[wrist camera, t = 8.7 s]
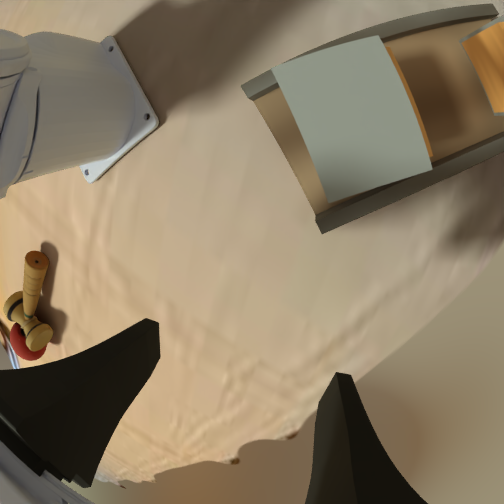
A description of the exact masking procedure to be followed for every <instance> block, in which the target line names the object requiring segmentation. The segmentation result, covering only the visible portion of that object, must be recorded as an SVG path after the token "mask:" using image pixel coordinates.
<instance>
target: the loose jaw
mask: <svg viewBox="0 0 504 504" xmlns="http://www.w3.org/2000/svg"><path fill="white" fill-rule="evenodd" d="M271 70H272V72H273V74H274V76H275V78H276V80H277V82H278V84H279V86H280V88H281V90H282V92H283V95H284V97H285V99H286V101H287V103H288V105H289V107H290V110H291V112H292V114H293V116H294V118H295V121H296V123H297V125H298V128H299V130H300V132H301V134H302V137H303V139H304V142H305V144H306V146H307V149H308V151H309V154H310V156H311V159H312V161H313V164H314V166H315V169H316V171H317V174H318V176H319V179H320V182H321V184H322V187H323V190H324V192H325V195H326V198H327V200H328V203H331V202H334V201H337V200H340V199H343V198H346V197H349V196H352V195H355V194H358V193H361V192H364V191H367V190H370V189H373V188H376V187H380V186H383V185H386V184H389V183H392V182H395V181H398V180H401V179H404V178H408V177H411V176H414V175H417V174H420V173H424V172H427V171H430V170H433V169H432V165H431V162H430V158H429V157H432V156H433V153H432V150H431V146H430V143H429V140H428V137H427V134H426V131H425V128H424V125H423V122H422V119H421V116H420V114H419V111H418V108H417V106H416V103H415V101H414V98H413V96H412V93H411V91H410V89H409V86H408V84H407V82H406V79H405V77H404V75H403V73H402V71H401V69H400V67H399V64H398V62H397V60H396V58H395V56H394V54H393V52H392V51H391V49H390V47H385V46H384V45H383V43H382V41H381V39H380V37H379V36H378V35H377V36H372V37H368V38H363V39H359V40H355V41H351V42H347V43H344V44H340V45H337V46H333V47H330V48H326V49H323V50H320V51H317V52H314V53H311V54H308V55H305V56H302V57H299V58H296V59H294V60H291V61H288V62H285V63H283V64H280V65H278V66H275V67H273V68H271Z"/></svg>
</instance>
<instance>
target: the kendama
mask: <svg viewBox="0 0 504 504" xmlns="http://www.w3.org/2000/svg"><path fill="white" fill-rule="evenodd" d="M48 265H49V259H48V258H47V257H46V255H45V254H43V253H42V252H39V251H30V252H28V253H27V254H26V257H25V267H24V268H25V269H24V283H23V291H19V292H16V293H14V294H13V295H11V296H10V297H9V298H8V299H7V301H6V302H5V304H4V308H3V310H4V313H5V315H6V317H7V319H8V320H10V321H14V322H16V323H15V324H14V325H13V327H12V329H11V332H10V342H11V345H12V347H13V349H14V351H15V352H16V354H17V355H18V356H20V357H21V358H23V359H25V360H29V361H33V360H37V359H39V358H40V357H41V356H42V355H43V354H44V352H45V350H46V347H47V344H48V343H49V341H50V340H51V338H52V336H53V330H52V329H51V327H50V326H49V325H48V324H44V323H41V322H39V320H38V319H37V317H34V313H35V309H36V307H37V303H38V300H39V296H40V292H41V288H42V284H43V281H44V277H45V274H46V271H47V268H48Z"/></svg>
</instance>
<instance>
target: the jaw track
mask: <svg viewBox="0 0 504 504" xmlns="http://www.w3.org/2000/svg"><path fill="white" fill-rule="evenodd" d="M498 14H499V13H498V12H497V10H496V9H495V7H494V6H493V4H480V5H470V6H461V7H454V8H447V9H441V10H436V11H430V12H426V13H421V14H416V15H412V16H408V17H404V18H400V19H396V20H393V21H389V22H386V23H382V24H379V25H376V26H373V27H370V28H366V29H363V30H361V31H358V32H355V33H352V34H349V35H347V36H344V37H341V38H339V39H336V40H334V41H331V42H329V43H326V44H324V45H321V46H319V47H317V48H314V49H312V50H310V51H307V52H305V53H303V54H301V55H299V56H297V57H294V58H292V59H290V60H288V61H291V60H294V59H296V58H299V57H302V56H305V55H308V54H311V53H314V52H317V51H320V50H323V49H326V48H330V47H333V46H337V45H340V44H344V43H347V42H351V41H355V40H359V39H363V38H368V37H372V36H377V35H378V36H379V37H380V39H381V41H382V43H383V45H384V46H385V47H390V49H391V51H392V52H393V54H394V56H395V58H396V60H397V62H398V64H399V67H400V69H401V71H402V73H403V75H404V77H405V79H406V82H407V84H408V86H409V89H410V91H411V93H412V96H413V98H414V101H415V103H416V106H417V108H418V111H419V114H420V116H421V119H422V122H423V125H424V128H425V131H426V134H427V137H428V140H429V143H430V146H431V150H432V153H433V156H432V157H429V158H430V162H431V165H432V169H433V170H430V171H427V172H424V173H420V174H417V175H414V176H411V177H408V178H404V179H401V180H398V181H395V182H392V183H389V184H386V185H383V186H380V187H376V188H373V189H370V190H367V191H364V192H361V193H358V194H355V195H352V196H349V197H346V198H343V199H340V200H337V201H334V202H331V203H328V200H327V198H326V195H325V192H324V190H323V187H322V184H321V182H320V179H319V176H318V174H317V171H316V169H315V166H314V164H313V161H312V159H311V156H310V154H309V151H308V149H307V146H306V144H305V142H304V139H303V137H302V134H301V132H300V130H299V128H298V125H297V123H296V121H295V118H294V116H293V114H292V112H291V110H290V107H289V105H288V103H287V101H286V99H285V97H284V95H283V92H282V90H281V88H280V86H279V84H278V82H277V80H276V78H275V76H274V74H273V72H272V70H271V69H270V70H268V71H266V72H265V73H263V74H261V75H259V76H257V77H255V78H254V79H252V80H250V81H248V82H246V83H245V84H243V85H241V87H242V89H243V91H244V92H245V94H246V96H247V97H248V98H249V99H250V100H252V101H253V102H254V103H255V105H256V107H257V108H258V110H259V112H260V113H261V115H262V117H263V118H264V120H265V122H266V123H267V125H268V127H269V129H270V130H271V132H272V134H273V136H274V137H275V139H276V141H277V143H278V144H279V146H280V148H281V150H282V152H283V153H284V155H285V157H286V159H287V161H288V162H289V164H290V166H291V168H292V170H293V172H294V174H295V176H296V177H297V179H298V181H299V183H300V185H301V187H302V189H303V191H304V193H305V195H306V197H307V199H308V201H309V203H310V205H311V207H312V209H313V211H314V213H315V215H316V219H315V221H316V223H317V225H318V227H319V229H320V231H321V233H322V234H324V233H326V232H328V231H330V230H333V229H335V228H337V227H339V226H342V225H344V224H346V223H349V222H351V221H353V220H355V219H358V218H360V217H362V216H364V215H367V214H369V213H371V212H373V211H376V210H378V209H380V208H382V207H384V206H387V205H389V204H391V203H393V202H396V201H398V200H400V199H402V198H404V197H407V196H409V195H411V194H413V193H416V192H418V191H420V190H422V189H424V188H427V187H429V186H431V185H433V184H435V183H437V182H440V181H442V180H444V179H446V178H448V177H451V176H453V175H455V174H457V173H459V172H461V171H464V170H466V169H468V168H470V167H472V166H474V165H476V164H479V163H481V162H483V161H485V160H487V159H489V158H491V157H494V156H496V155H498V154H500V153H502V152H504V15H502V16H500V17H498V18H496V19H495V20H493V21H492V20H491V18H493V17H495V16H497V15H498ZM288 61H286V62H288ZM284 63H285V62H284ZM282 64H283V63H282Z"/></svg>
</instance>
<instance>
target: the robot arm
mask: <svg viewBox="0 0 504 504" xmlns="http://www.w3.org/2000/svg"><path fill="white" fill-rule="evenodd" d="M112 48H113V50H112ZM111 50H112V51H111ZM148 114H150V118H149V120H147V115H148ZM158 124H159V120H158V117H157V116H156V114H155V112H154V110H153V108H152V107H151V105H150V103H149V101H148V99H147V97H146V96H145V94H144V92H143V90H142V88H141V86H140V85H139V83H138V81H137V79H136V77H135V75H134V74H133V72H132V70H131V68H130V66H129V64H128V63H127V61H126V59H125V57H124V55H123V53H122V51H121V50H120V48H119V46H118V44H117V42H116V40H115V38H114V37H112V36H107V37H106V38H105V39H104V40H103V41H102V42H101V43H98V42H95V41H91V40H87V39H82V38H78V37H74V36H69V35H64V34H59V33H54V32H38V33H34V34H31V35H28V36H25V37H22V36H20V35H18V34H16V33H13V32H11V31H7V30H3V29H0V199H1V198H4V197H5V196H6V192H7V189H8V188H9V186H11V185H13V184H16V183H19V182H22V181H25V180H29V179H32V178H35V177H39V176H42V175H46V174H49V173H53V172H57V171H60V170H64V169H68V168H72V167H76V166H80V168H81V170H82V173H83V175H84V177H85V179H86V181H87V182H88V183H89V184H91V183H94V182H95V181H96V180H97V179H98V178H99V177H101V176H102V175H103V174H104V173H105V172H106V171H107V170H108V169H109V168H110V167H111V166H112V165H113V164H114V163H115V162H117V161H118V160H119V159H120V158H121V157H122V156H123V155H124V154H126V153H127V152H128V151H129V150H130V149H131V148H133V147H134V146H135V145H136V144H137V143H138V142H140V141H141V140H142V139H143V138H144V137H146V136H147V135H148V134H149V133H151V132H152V131H153V130H154V129H156V128H157V127H158ZM88 170H89V174H88ZM159 359H160V339H159V323H158V322H155V321H153V320H150V319H147V318H145V319H143V320H142V321H140V322H138V323H136V324H134V325H133V326H131V327H129V328H127V329H126V330H124V331H122V332H120V333H118V334H117V335H115V336H113V337H111V338H109V339H107V340H105V341H104V342H102V343H100V344H98V345H95V346H93V347H91V348H89V349H87V350H85V351H83V352H80V353H78V354H75V355H73V356H70V357H67V358H64V359H61V360H58V361H54V362H51V363H47V364H43V365H39V366H34V367H28V368H21V369H11V370H0V504H68V503H69V504H94V503H93V502H91V501H89V500H88V499H86V498H84V497H83V496H81V495H80V494H78V493H77V492H75V491H74V490H72V489H71V488H69V487H68V486H67V485H65V484H64V483H62V482H61V480H62V479H65V480H66V481H68V482H69V483H70V482H71V481H73V482H75V483H76V484H78V485H79V486H81V487H83V488H88V487H91V485H92V481H93V479H94V476H95V473H96V471H97V468H98V465H99V463H100V461H101V458H102V456H103V454H104V451H105V449H106V447H107V445H108V443H109V441H110V439H111V437H112V435H113V433H114V431H115V429H116V427H117V425H118V423H119V421H120V419H121V418H122V416H123V415H124V413H125V412H126V410H127V409H128V407H129V406H130V405H131V403H132V402H133V400H134V399H135V397H136V396H137V395H138V393H139V392H140V390H141V389H142V388H143V386H144V385H145V383H146V382H147V381H148V379H149V378H150V376H151V374H152V372H153V371H154V369H155V367H156V365H157V363H158V361H159ZM305 504H428V503H427V502H426V501H424V500H423V499H422V498H421V497H420V496H419V495H418V494H417V493H416V491H415V490H414V489H413V488H412V487H411V486H410V485H409V484H408V482H407V481H406V480H405V479H404V477H403V476H402V475H401V473H400V472H399V471H398V470H397V468H396V467H395V465H394V464H393V462H392V461H391V459H390V458H389V456H388V455H387V453H386V451H385V449H384V448H383V446H382V444H381V442H380V441H379V439H378V437H377V435H376V433H375V431H374V429H373V427H372V425H371V422H370V420H369V418H368V416H367V413H366V411H365V409H364V406H363V404H362V402H361V399H360V397H359V394H358V392H357V389H356V387H355V384H354V381H353V379H352V376H351V375H349V374H344V373H338V372H336V373H335V375H334V377H333V379H332V380H331V382H330V384H329V386H328V387H327V389H326V391H325V393H324V394H323V396H322V398H321V399H320V401H319V404H318V410H317V416H316V422H315V434H314V451H313V464H312V474H311V480H310V485H309V489H308V494H307V498H306V502H305Z"/></svg>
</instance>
